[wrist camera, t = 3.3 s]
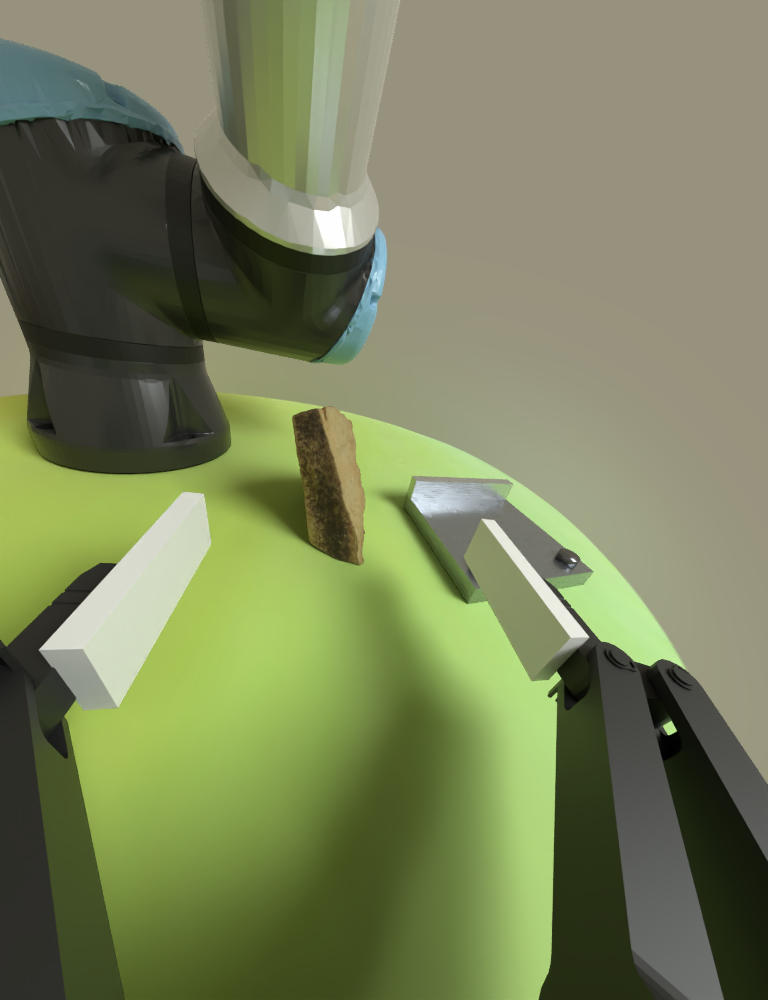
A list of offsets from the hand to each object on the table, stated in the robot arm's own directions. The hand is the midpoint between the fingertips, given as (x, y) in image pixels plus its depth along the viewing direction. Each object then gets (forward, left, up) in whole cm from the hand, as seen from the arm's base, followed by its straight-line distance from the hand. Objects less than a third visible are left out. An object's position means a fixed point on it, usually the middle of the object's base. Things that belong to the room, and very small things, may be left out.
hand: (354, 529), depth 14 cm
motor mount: (-5, +15, -6) cm, 17 cm away
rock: (-9, +2, -6) cm, 11 cm away
